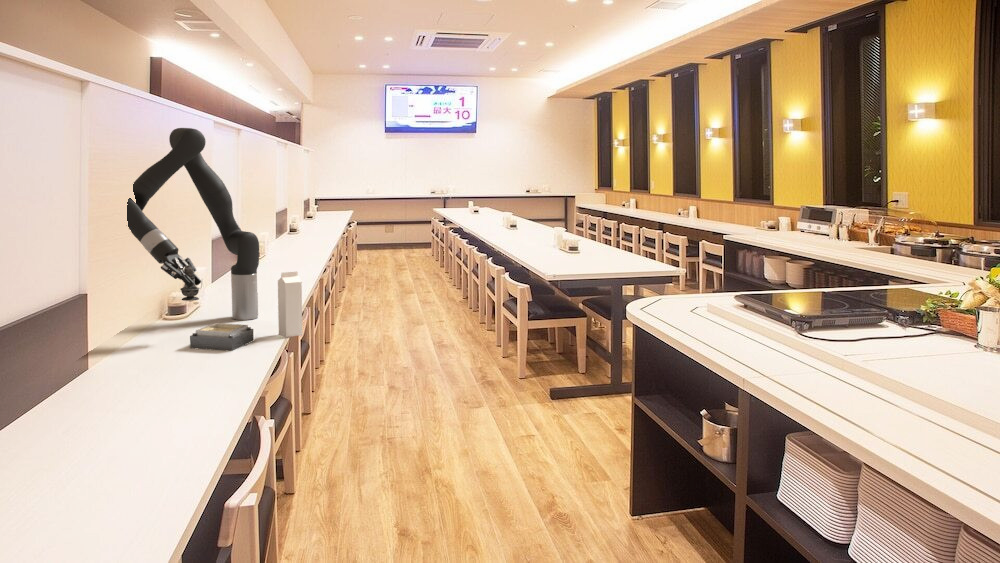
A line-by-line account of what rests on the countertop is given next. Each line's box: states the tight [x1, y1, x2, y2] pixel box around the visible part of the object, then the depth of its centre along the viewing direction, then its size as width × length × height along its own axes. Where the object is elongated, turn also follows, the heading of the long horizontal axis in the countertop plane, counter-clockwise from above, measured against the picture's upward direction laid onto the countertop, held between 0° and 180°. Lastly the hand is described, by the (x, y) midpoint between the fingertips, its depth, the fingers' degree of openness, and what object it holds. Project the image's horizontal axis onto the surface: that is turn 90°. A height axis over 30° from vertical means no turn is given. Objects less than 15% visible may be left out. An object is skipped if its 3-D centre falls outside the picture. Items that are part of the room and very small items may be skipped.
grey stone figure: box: [179, 264, 201, 302], centre depth 224 cm, size 6×6×12 cm
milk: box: [277, 271, 303, 338], centre depth 236 cm, size 6×6×22 cm
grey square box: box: [189, 322, 254, 352], centre depth 221 cm, size 14×14×6 cm
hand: (195, 284), depth 224 cm, fingers closed on grey stone figure, 3 cm apart
